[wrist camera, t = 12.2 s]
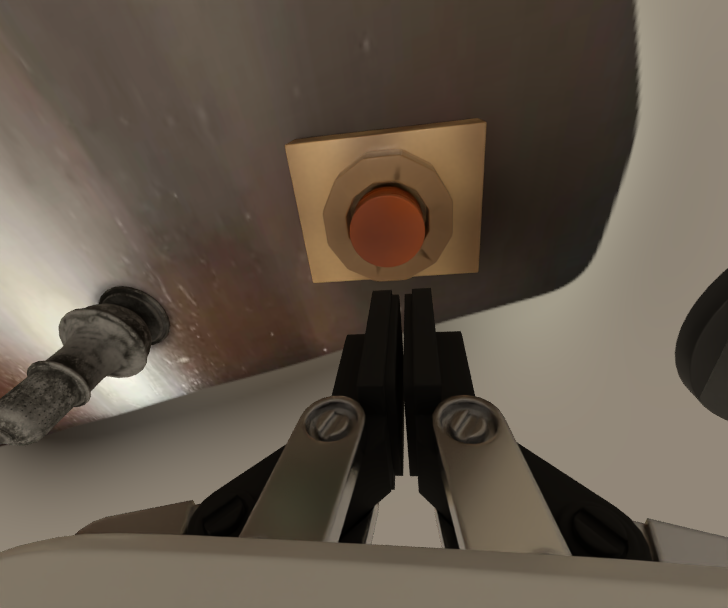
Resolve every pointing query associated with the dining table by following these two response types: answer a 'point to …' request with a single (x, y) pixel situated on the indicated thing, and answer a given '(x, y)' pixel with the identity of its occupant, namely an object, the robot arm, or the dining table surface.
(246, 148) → the dining table surface
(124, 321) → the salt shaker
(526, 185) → the dining table surface
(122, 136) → the dining table surface
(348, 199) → the button block
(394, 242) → the button
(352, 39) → the dining table surface
